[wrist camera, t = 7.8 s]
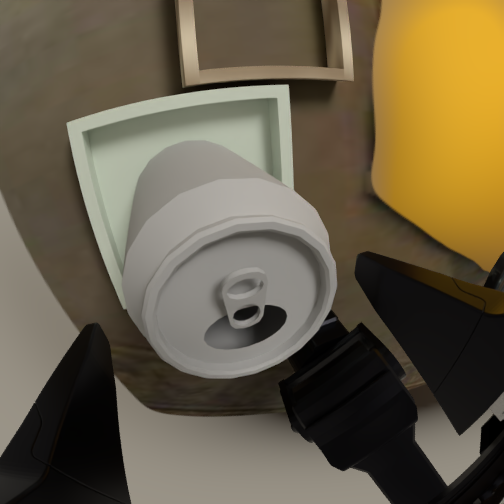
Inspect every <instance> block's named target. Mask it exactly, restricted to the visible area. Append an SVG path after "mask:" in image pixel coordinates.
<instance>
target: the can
mask: <svg viewBox="0 0 504 504" xmlns="http://www.w3.org/2000/svg"><path fill="white" fill-rule="evenodd" d="M336 288H337V277H336V263H335V261H334V259H333V257H332V255H331V253H330V246H329V236H328V233H327V231H326V229H325V227H324V225H323V223H322V221H321V219H320V217H319V215H318V213H317V211H316V209H315V208H314V207H312V206H311V205H310V204H309V203H308V202H307V201H305V200H304V199H303V198H302V197H301V196H300V195H298V194H297V193H296V192H295V191H294V190H292V189H291V188H289V187H288V186H286V185H285V184H283V183H282V182H280V181H279V180H277V179H276V178H274V177H273V176H271V175H270V174H268V173H266V172H265V171H263V170H262V169H260V168H258V167H257V166H255V165H254V164H252V163H250V162H249V161H247V160H246V159H244V158H242V157H241V156H239V155H237V154H236V153H234V152H232V151H231V150H229V149H227V148H226V147H224V146H222V145H219V144H216V143H212V142H209V141H206V140H189V141H182V142H180V143H177V144H174V145H171V146H169V147H166V148H164V149H163V150H162V151H161V152H159V153H158V154H157V155H156V156H154V157H153V158H152V159H151V160H150V161H149V162H148V164H147V165H146V167H145V168H144V170H143V171H142V173H141V174H140V176H139V178H138V182H137V186H136V190H135V194H134V198H133V204H132V209H131V215H130V222H129V228H128V235H127V242H126V249H125V257H124V266H123V276H122V289H123V294H124V298H125V303H126V307H127V311H128V314H129V316H130V317H131V319H132V320H133V322H134V323H135V324H136V326H137V327H138V329H139V330H140V332H141V333H142V334H143V336H144V337H146V338H147V341H148V342H149V343H150V345H151V346H152V347H153V349H154V350H155V351H156V353H157V354H158V355H159V357H160V358H161V359H162V360H164V361H165V362H167V363H168V364H170V365H172V366H173V367H175V368H176V369H178V370H180V371H181V372H185V373H189V374H192V375H196V376H200V377H204V378H236V377H241V376H246V375H250V374H255V373H258V372H260V371H263V370H265V369H267V368H270V367H272V366H274V365H277V364H279V363H281V362H282V361H284V360H285V359H287V358H288V357H289V356H291V355H292V354H294V353H295V352H297V351H298V350H300V349H301V348H302V347H303V346H304V345H305V344H306V343H307V342H308V341H309V340H310V339H311V338H312V337H313V336H314V334H315V333H316V332H317V331H318V330H319V328H320V326H321V325H322V323H323V321H324V320H325V318H326V316H327V315H328V313H329V311H330V310H331V306H332V303H333V299H334V296H335V292H336Z"/></svg>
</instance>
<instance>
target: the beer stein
mask: <svg viewBox="0 0 504 504" xmlns="http://www.w3.org/2000/svg"><path fill="white" fill-rule="evenodd" d="M484 287H486V288H490V289H494V290H497V291H501V292H504V252H503V253H502V254H501V256H500V257H499V259H498V260H497V262H496V264H495V265H494V267H493V268H492V270H491V272H490V274H489V276H488V279H487V281H486V283H485V285H484Z"/></svg>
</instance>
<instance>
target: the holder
mask: <svg viewBox="0 0 504 504" xmlns="http://www.w3.org/2000/svg"><path fill="white" fill-rule="evenodd" d="M321 4H322V12H323V20H324V30H325V40H326V52H327V66H328V68H324V67H307V66H248V67H231V68H219V69H208V70H200V71H199V66H198V56H197V45H196V34H195V22H194V9H193V0H175V10H176V24H177V36H178V48H179V58H180V69H181V78H182V87H183V88H186V87H193V86H200V85H208V84H217V83H227V82H239V81H255V80H327V81H354V76H353V59H352V46H351V35H350V25H349V17H348V9H347V1H346V0H321Z"/></svg>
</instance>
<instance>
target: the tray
mask: <svg viewBox="0 0 504 504" xmlns="http://www.w3.org/2000/svg"><path fill="white" fill-rule="evenodd" d="M67 128H68V134H69V139H70V144H71V149H72V154H73V158H74V163H75V167H76V171H77V175H78V179H79V183H80V187H81V191H82V194H83V198H84V202H85V205H86V208H87V212H88V215H89V218H90V222H91V225H92V228H93V231H94V234H95V237H96V240H97V243H98V246H99V249H100V251H101V254H102V257H103V260H104V262H105V265H106V268H107V270H108V273H109V275H110V278H111V281H112V283H113V285H114V288H115V290H116V293H117V295H118V298H119V300H120V302H121V304H122V307H123V309H127V307H126V303H125V298H124V294H123V289H122V276H123V266H124V257H125V249H126V242H127V235H128V228H129V222H130V215H131V209H132V204H133V198H134V194H135V190H136V186H137V182H138V178H139V176H140V174H141V173H142V171H143V170H144V168H145V167H146V165H147V164H148V162H149V161H150V160H151V159H152V158H153V157H154V156H156V155H157V154H158V153H159V152H161V151H162V150H163V149H164V148H166V147H169V146H171V145H174V144H177V143H180V142H182V141H189V140H206V141H209V142H212V143H216V144H219V145H222V146H224V147H226V148H227V149H229V150H231V151H232V152H234V153H236V154H237V155H239V156H241V157H242V158H244V159H246V160H247V161H249V162H250V163H252V164H254V165H255V166H257V167H258V168H260V169H262V170H263V171H265V172H266V173H268V174H270V175H271V176H273V177H274V178H276V179H277V180H279V181H280V182H282V183H283V184H285V185H286V186H288V187H289V188H291V189H292V190H294V186H293V156H292V133H291V114H290V98H289V85H263V86H246V87H233V88H223V89H214V90H206V91H198V92H191V93H185V94H178V95H173V96H167V97H162V98H157V99H152V100H147V101H142V102H138V103H133V104H129V105H125V106H121V107H117V108H114V109H110V110H106V111H103V112H99V113H96V114H92V115H89V116H86V117H83V118H80V119H77V120H74V121H71V122H68V123H67Z"/></svg>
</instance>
